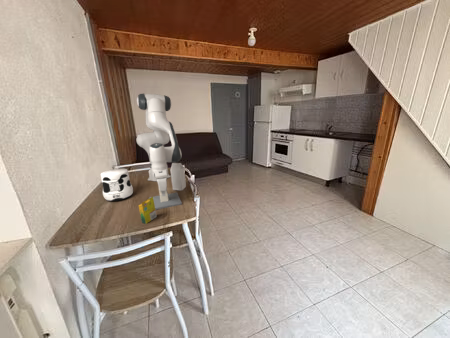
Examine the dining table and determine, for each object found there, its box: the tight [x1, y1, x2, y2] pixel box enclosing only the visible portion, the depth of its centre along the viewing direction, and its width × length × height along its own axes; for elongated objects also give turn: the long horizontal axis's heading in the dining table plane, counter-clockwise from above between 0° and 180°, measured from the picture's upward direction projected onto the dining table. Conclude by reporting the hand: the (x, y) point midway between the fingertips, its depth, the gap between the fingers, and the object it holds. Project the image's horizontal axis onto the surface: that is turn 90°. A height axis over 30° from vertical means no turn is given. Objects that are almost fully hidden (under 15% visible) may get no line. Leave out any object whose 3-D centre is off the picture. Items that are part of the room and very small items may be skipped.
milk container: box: [100, 168, 134, 202], centre depth 123 cm, size 17×17×18 cm
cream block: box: [158, 188, 169, 202], centre depth 115 cm, size 4×4×8 cm
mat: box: [148, 191, 182, 211], centre depth 116 cm, size 18×18×1 cm
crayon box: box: [138, 196, 158, 225], centre depth 94 cm, size 7×3×12 cm, turn 155°
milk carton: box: [169, 162, 187, 191], centre depth 134 cm, size 7×7×19 cm
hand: (163, 193), depth 114 cm, fingers open, 8 cm apart
